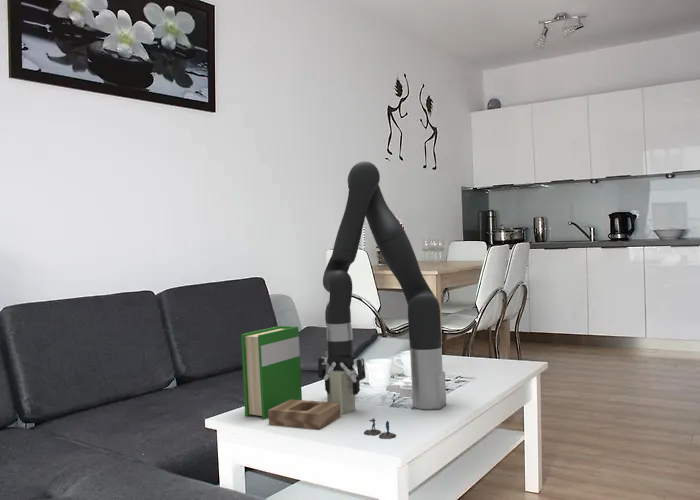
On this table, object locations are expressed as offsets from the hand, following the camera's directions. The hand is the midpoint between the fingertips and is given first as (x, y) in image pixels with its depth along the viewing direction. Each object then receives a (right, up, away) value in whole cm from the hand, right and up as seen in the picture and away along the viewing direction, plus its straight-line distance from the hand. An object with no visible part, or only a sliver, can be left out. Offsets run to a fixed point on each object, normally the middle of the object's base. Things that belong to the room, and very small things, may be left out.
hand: (342, 393), depth 182 cm
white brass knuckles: (+23, -4, +20) cm, 31 cm away
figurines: (+10, -5, -24) cm, 26 cm away
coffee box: (-1, -5, +14) cm, 15 cm away
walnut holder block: (-10, -6, -8) cm, 14 cm away
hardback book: (-20, -6, +5) cm, 22 cm away
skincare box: (0, -5, 0) cm, 5 cm away
